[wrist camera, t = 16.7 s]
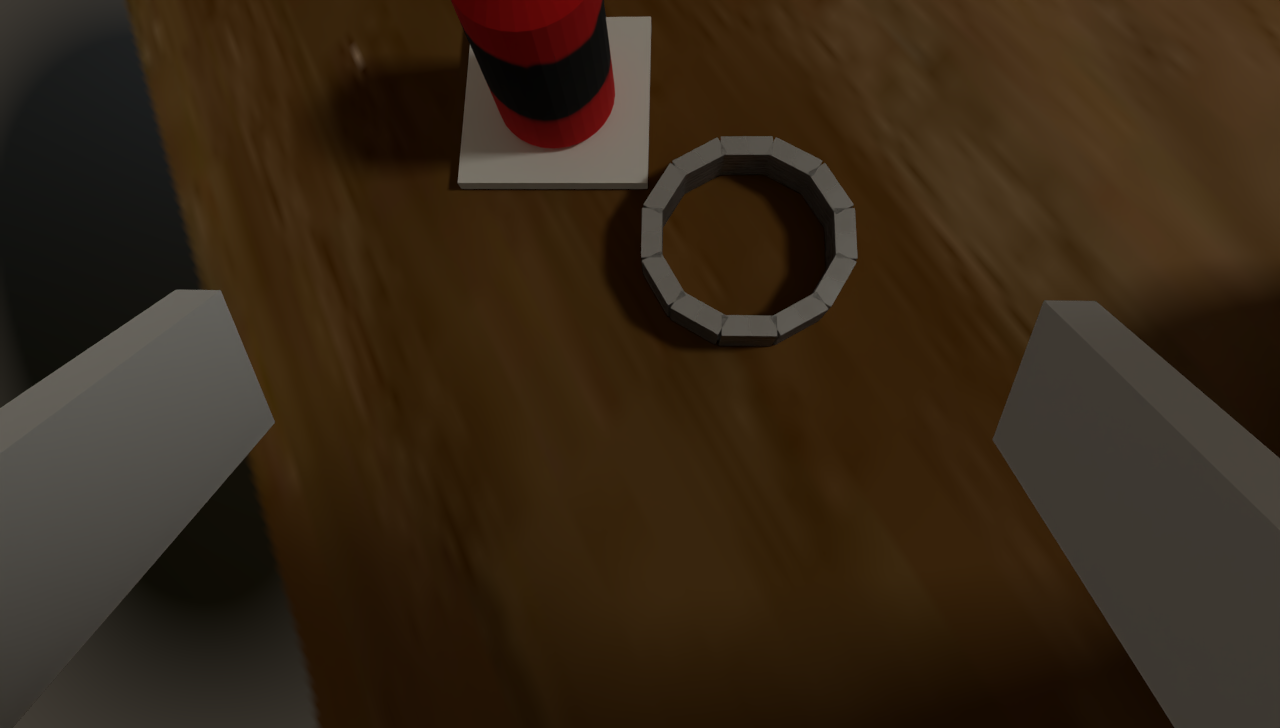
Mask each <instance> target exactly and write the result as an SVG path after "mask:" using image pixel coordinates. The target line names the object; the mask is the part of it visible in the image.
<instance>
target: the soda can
mask: <svg viewBox="0 0 1280 728" xmlns="http://www.w3.org/2000/svg"><path fill="white" fill-rule="evenodd" d="M451 2H452V4H453V6H454V8H455V11H456V13H457V15H458V18H459V20H460V22H461V25H462V27H463V29H464V32H465V34H466V36H467V39H468V41H469V43H470V46H471V48H472V50H473V52H474V55H475V57H476V59H477V62H478V64H479V66H480V69H481V71H482V73H483V76H484V78H485V80H486V83H487V85H488V87H489V89H490V92H491V94H492V96H493V99H494V101H495V103H496V106H497V108H498V110H499V113H500V115H501V117H502V119H503V121H504V123H505V125H506V126H507V127H508V128H509V130H510V131H511V132H512V133H513V134H514V135H516V136H517V137H518V138H519V139H521V140H523V141H525V142H527V143H529V144H531V145H534V146H538V147H541V148H552V149H554V148H565V147H569V146H572V145H576V144H578V143H580V142H582V141H584V140H587V139H588V138H589V137H591V136H592V135H594V134H595V133H596V132H597V131H598V130H599V129H600V128H601V127H602V126H603V125H604V124H605V122H606V121H607V119H608V117H609V116H610V114H611V111H612V108H613V106H614V100H615V85H614V77H613V69H612V62H611V54H610V46H609V38H608V30H607V23H606V15H605V7H604V0H451Z"/></svg>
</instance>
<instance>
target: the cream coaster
mask: <svg viewBox="0 0 1280 728" xmlns="http://www.w3.org/2000/svg"><path fill="white" fill-rule="evenodd" d="M606 23H607V30H608V38H609V46H610V54H611V62H612V69H613V77H614V85H615V100H614V106H613V108H612V111H611V114H610V116H609V117H608V119H607V121H606V122H605V124H604V125H603V126H602V127H601V128H600V129H599V130H598V131H597V132H596V133H595V134H594V135H592V136H591V137H589V138H588V139H587V140H584V141H582V142H580V143H578V144H576V145H572V146H569V147H565V148H554V149H552V148H541V147H538V146H534V145H531V144H529V143H527V142H525V141H523V140H521V139H519V138H518V137H517V136H516V135H514V134H513V133H512V132H511V131H510V130H509V128H508V127H507V126H506V125H505V123H504V121H503V119H502V117H501V115H500V113H499V110H498V108H497V106H496V103H495V101H494V99H493V96H492V94H491V92H490V89H489V87H488V85H487V83H486V80H485V78H484V76H483V73H482V71H481V69H480V66H479V64H478V62H477V59H476V57H475V55H474V52H473V50H472V48H471V46H470V50H469V61H468V73H467V84H466V95H465V106H464V117H463V128H462V139H461V151H460V162H459V173H458V184H459V186H460V187H461V189H648V150H649V105H650V59H651V17H606Z"/></svg>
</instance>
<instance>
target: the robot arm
mask: <svg viewBox="0 0 1280 728" xmlns="http://www.w3.org/2000/svg"><path fill="white" fill-rule="evenodd" d="M274 423H275V421H274V419H273V416H272V414H271V412H270V409H269V407H268V404H267V402H266V399H265V397H264V395H263V392H262V390H261V387H260V385H259V382H258V380H257V378H256V375H255V373H254V370H253V368H252V365H251V363H250V361H249V358H248V356H247V353H246V351H245V348H244V346H243V344H242V341H241V339H240V336H239V334H238V331H237V329H236V327H235V324H234V322H233V319H232V317H231V314H230V312H229V310H228V307H227V305H226V302H225V300H224V297H223V295H222V293H221V290H175V291H173V292H172V293H171V294H169V295H167V296H166V297H165V298H163V299H162V300H160V301H159V302H157V303H156V304H154V305H153V306H151V307H150V308H148V309H147V310H145V311H144V312H143V313H141V314H139V315H138V316H136V317H135V318H133V319H132V320H131V321H129V322H127V323H126V324H124V325H123V326H122V327H120V328H119V329H117V330H116V331H114V332H113V333H111V334H110V335H108V336H107V337H105V338H104V339H102V340H101V341H99V342H98V343H97V344H95V345H93V346H92V347H90V348H89V349H88V350H86V351H85V352H83V353H81V354H80V355H79V356H77V357H76V358H74V359H73V360H71V361H70V362H68V363H67V364H65V365H64V366H62V367H61V368H59V369H58V370H56V371H55V372H53V373H52V374H50V375H49V376H47V377H46V378H44V379H43V380H41V381H40V382H39V383H37V384H36V385H34V386H33V387H31V388H30V389H28V390H27V391H25V392H24V393H22V394H21V395H20V396H18V397H16V398H15V399H13V400H12V401H10V402H9V403H7V404H6V405H5V406H3V407H1V408H0V728H13V727H14V725H15V724H16V723H17V722H18V721H19V720H20V719H21V717H22V716H23V715H24V714H25V712H27V710H28V709H29V708H30V707H31V706H32V705H33V703H34V702H35V701H36V700H37V699H38V697H39V696H40V695H41V694H42V693H43V692H44V691H45V690H46V688H47V687H48V686H49V685H50V684H51V683H52V681H53V680H54V679H55V678H56V677H57V675H58V674H59V673H60V672H61V671H62V670H63V669H64V667H65V666H66V665H67V664H68V663H69V662H70V660H71V659H72V658H73V657H74V656H75V655H76V653H77V652H78V651H79V650H80V649H81V648H82V646H83V645H84V644H85V643H86V642H87V641H88V639H89V638H90V637H91V636H92V635H93V634H94V632H95V631H96V630H97V629H98V628H99V627H100V626H101V624H102V623H103V622H104V621H105V620H106V619H107V617H108V616H109V615H110V614H111V613H112V612H113V610H114V609H115V608H116V607H117V606H118V605H119V603H120V602H121V601H122V599H124V598H125V596H126V595H127V594H128V593H129V592H130V591H131V589H132V588H133V587H134V586H135V585H136V583H137V582H138V581H139V580H140V579H141V578H142V577H143V575H144V574H145V573H146V572H147V571H148V570H149V568H150V567H151V566H152V565H153V564H154V563H155V562H156V560H157V559H158V558H159V557H160V556H161V555H162V553H163V552H164V551H165V550H166V548H168V546H169V545H170V544H171V543H172V542H173V541H174V539H175V538H176V537H177V536H178V535H179V534H180V532H181V531H182V530H183V529H184V528H185V527H186V525H187V524H188V523H189V522H190V521H191V520H192V518H193V517H194V516H195V515H196V514H197V513H198V511H199V510H200V509H201V508H202V507H203V506H204V504H205V503H206V502H207V501H208V500H209V499H210V498H211V496H212V495H213V494H214V493H215V492H216V490H217V489H218V488H219V487H220V486H221V485H222V484H223V482H224V481H225V480H226V479H227V478H228V477H229V475H230V474H231V473H232V472H233V471H234V470H235V468H236V467H237V466H238V465H239V464H240V462H241V461H242V460H243V459H244V458H245V457H246V456H247V454H248V453H249V452H250V451H251V450H252V449H253V447H254V446H255V445H256V444H257V443H258V442H259V441H260V439H261V438H262V437H263V436H264V435H265V434H266V432H267V431H268V430H269V429H270V428H271V427H272V425H273V424H274ZM993 441H994V443H995V444H996V446H997V447H998V449H999V450H1000V452H1001V454H1002V455H1003V457H1004V458H1005V460H1006V462H1007V463H1008V465H1009V466H1010V468H1011V469H1012V471H1013V473H1014V474H1015V476H1016V477H1017V479H1018V481H1019V482H1020V484H1021V485H1022V487H1023V488H1024V490H1025V492H1026V493H1027V495H1028V496H1029V498H1030V500H1031V501H1032V503H1033V504H1034V506H1035V508H1036V509H1037V511H1038V512H1039V514H1040V515H1041V517H1042V519H1043V520H1044V522H1045V523H1046V525H1047V527H1048V528H1049V530H1050V531H1051V533H1052V534H1053V536H1054V538H1055V539H1056V541H1057V542H1058V544H1059V546H1060V547H1061V549H1062V550H1063V552H1064V554H1065V555H1066V557H1067V558H1068V560H1069V561H1070V563H1071V565H1072V566H1073V568H1074V569H1075V571H1076V573H1077V574H1078V576H1079V577H1080V579H1081V580H1082V582H1083V584H1084V585H1085V587H1086V588H1087V590H1088V592H1089V593H1090V595H1091V596H1092V598H1093V599H1094V601H1095V603H1096V604H1097V606H1098V607H1099V609H1100V611H1101V612H1102V614H1103V615H1104V617H1105V619H1106V620H1107V622H1108V623H1109V625H1110V626H1111V628H1112V630H1113V631H1114V633H1115V634H1116V636H1117V638H1118V639H1119V641H1120V642H1121V644H1122V645H1123V647H1124V649H1125V650H1126V652H1127V653H1128V655H1129V657H1130V658H1131V660H1132V661H1133V663H1134V664H1135V666H1136V668H1137V669H1138V671H1139V672H1140V674H1141V676H1142V677H1143V679H1144V680H1145V682H1146V684H1147V685H1148V687H1149V688H1150V690H1151V691H1152V693H1153V695H1154V696H1155V698H1156V699H1157V701H1158V703H1159V704H1160V706H1161V707H1162V709H1163V710H1164V712H1165V714H1166V715H1167V717H1168V718H1169V720H1170V722H1171V723H1172V725H1173V726H1174V728H1280V458H1279V457H1278V456H1276V455H1275V454H1274V453H1273V452H1272V451H1271V450H1269V449H1268V448H1267V447H1266V446H1265V445H1264V444H1262V443H1261V442H1260V441H1259V440H1258V439H1257V438H1255V437H1254V436H1253V435H1252V434H1251V433H1249V432H1248V431H1247V430H1246V429H1245V428H1244V427H1242V426H1241V425H1240V424H1239V423H1238V422H1237V421H1235V420H1234V419H1233V418H1232V417H1231V416H1230V415H1228V414H1227V413H1226V412H1225V411H1224V410H1223V409H1221V408H1220V407H1219V406H1218V405H1217V404H1216V403H1214V402H1213V401H1212V400H1211V399H1210V398H1209V397H1207V396H1206V395H1205V394H1204V393H1203V392H1202V391H1200V390H1199V389H1198V388H1197V387H1196V386H1194V385H1193V384H1192V383H1191V382H1190V381H1189V380H1187V379H1186V378H1185V377H1184V376H1183V375H1182V374H1180V373H1179V372H1178V371H1177V370H1176V369H1175V368H1173V367H1172V366H1171V365H1170V364H1169V363H1168V362H1166V361H1165V360H1164V359H1163V358H1162V357H1161V356H1159V355H1158V354H1157V353H1156V352H1155V351H1154V350H1152V349H1151V348H1150V347H1149V346H1148V345H1147V344H1145V343H1144V342H1143V341H1142V340H1141V339H1139V338H1138V337H1137V336H1136V335H1135V334H1134V333H1132V332H1131V331H1130V330H1129V329H1128V328H1127V327H1125V326H1124V325H1123V324H1122V323H1121V322H1120V321H1118V320H1117V319H1116V318H1115V317H1114V316H1113V315H1111V314H1110V313H1109V312H1108V311H1107V310H1106V309H1104V308H1103V307H1102V306H1101V305H1100V304H1099V303H1097V302H1096V301H1044V302H1043V305H1042V307H1041V310H1040V313H1039V316H1038V318H1037V321H1036V324H1035V326H1034V329H1033V332H1032V334H1031V337H1030V340H1029V343H1028V345H1027V348H1026V351H1025V353H1024V356H1023V359H1022V362H1021V364H1020V367H1019V370H1018V372H1017V375H1016V378H1015V381H1014V383H1013V386H1012V389H1011V391H1010V394H1009V397H1008V400H1007V402H1006V405H1005V408H1004V410H1003V413H1002V416H1001V419H1000V421H999V424H998V427H997V429H996V432H995V435H994V438H993Z"/></svg>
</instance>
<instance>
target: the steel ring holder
mask: <svg viewBox="0 0 1280 728" xmlns="http://www.w3.org/2000/svg"><path fill="white" fill-rule="evenodd" d="M821 163H822V160H820V159H818V158H816V157H814V156H812V155H810V154H808V153H806V152H804V151H802V150H800V149H798V148H796V147H794V146H793V145H791V144H789V143H787V142H785V141H783V140H781V139H779V138H777V137H776V138H775V140H774V142H773V136H743V137H721V139H720V141H719V139H718V138H715V139H713V140H712V141H710V142H708V143H706V144H704V145H702V146H700V147H698V148H696V149H694V150H692V151H691V152H689V153H687V154H685V155H683V156H681V157H679V158H677V159H675V160H673V165H672V164H671V163H670V164H669V166H668V167H667V169H666V170H665V172H664V173H663V175H662V176H661V178H660V179H659V181H658V182H657V184H656V186H655V187H654V189H653V190H652V192H651V193H650V195H649V196H648V198H647V199H646V201H645V203H644V204H643V208H642V236H641V262H642V271H643V275H644V277H645V279H646V280H647V282H648V284H649V285H650V287H651V289H652V291H653V292H654V294H655V296H656V297H657V299H658V301H659V303H660V304H661V306H662V308H663V309H664V311H665V313H666V315H667V316H668V317H669V316H670V320H672V321H674V322H676V323H677V324H679V325H681V326H683V327H684V328H686V329H688V330H690V331H692V332H693V333H695V334H697V335H699V336H700V337H702V338H704V339H706V340H707V341H709V342H711V343H713V344H714V345H715V344H716V342H717V341H718V346H771V345H772V343H773V345H776V344H778V343H780V342H781V341H783V340H785V339H787V338H789V337H790V336H792V335H794V334H796V333H798V332H800V331H801V330H803V329H805V328H807V327H809V326H810V325H812V324H814V323H816V322H818V321H819V320H820V319H821V318H822V317H823V316H824V315H825V313H826V312H827V311H828V310H829V309H830V307H831V306H832V304H833V302H834V301H835V299H836V297H837V295H838V294H839V292H840V290H841V288H842V287H843V285H844V283H845V281H846V280H847V278H848V276H849V274H850V273H851V271H852V269H853V267H854V266H855V264H856V260H857V240H856V220H855V208H852V207H853V203H852V202H851V200H850V199H849V197H848V196H847V194H846V193H845V191H844V190H843V188H842V187H841V186H840V184H839V183H838V181H837V180H836V178H835V177H834V175H833V174H832V172H831V171H830V169H829V168H828V167H827V165H826V164H825V163H824V164H822V165H821ZM720 175H765V176H767V177H769V178H771V179H773V180H775V181H777V182H779V183H781V184H783V185H785V186H787V187H789V188H790V189H792V190H794V191H796V192H798V193H800V194H802V196H803V197H804V199H805V200H806V202H807V203H808V205H809V206H810V208H811V209H812V211H813V212H814V214H815V215H816V217H817V218H818V220H819V221H820V223H821V224H822V226H823V227H824V233H825V258H826V271H825V272H824V274H823V276H822V277H821V279H820V281H819V283H818V284H817V286H816V288H815V290H814V291H813V293H812V295H810V296H808V297H806V298H804V299H803V300H801V301H799V302H797V303H795V304H793V305H792V306H790V307H788V308H786V309H784V310H782V311H781V312H779V313H777V314H775V315H773V316H760V315H724V314H722V313H721V312H719V311H717V310H715V309H713V308H712V307H710V306H708V305H706V304H705V303H703V302H701V301H699V300H697V299H696V298H694V297H692V296H690V295H688V294H687V293H685V292H684V291H683V289H682V287H681V286H680V284H679V282H678V281H677V279H676V277H675V275H674V274H673V272H672V270H671V269H670V267H669V265H668V264H667V262H666V260H665V259H664V257H663V255H662V243H663V227H664V225H665V224H666V222H667V221H668V219H669V218H670V216H671V214H672V213H673V211H674V210H675V208H676V207H677V205H678V203H679V202H680V200H681V199H682V197H683V196H684V194H685V193H687V192H689V191H691V190H693V189H695V188H697V187H699V186H701V185H703V184H704V183H706V182H708V181H710V180H712V179H714V178H716V177H718V176H720Z"/></svg>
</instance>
